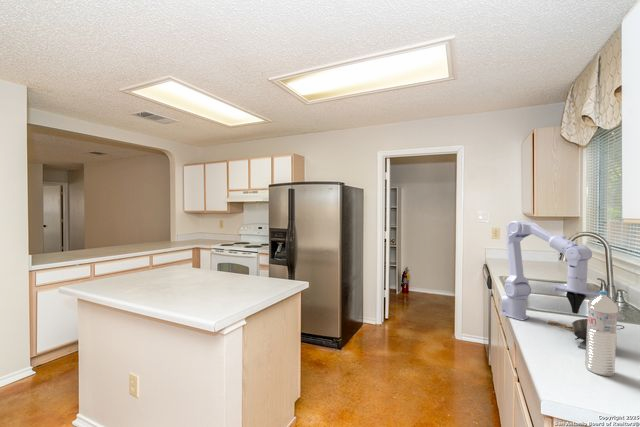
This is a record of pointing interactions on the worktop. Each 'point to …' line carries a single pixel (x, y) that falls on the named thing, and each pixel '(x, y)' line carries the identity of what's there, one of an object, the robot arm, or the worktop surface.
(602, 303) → the water bottle
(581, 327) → the alarm clock
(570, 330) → the turner
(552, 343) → the worktop surface
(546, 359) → the worktop surface
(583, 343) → the mat
